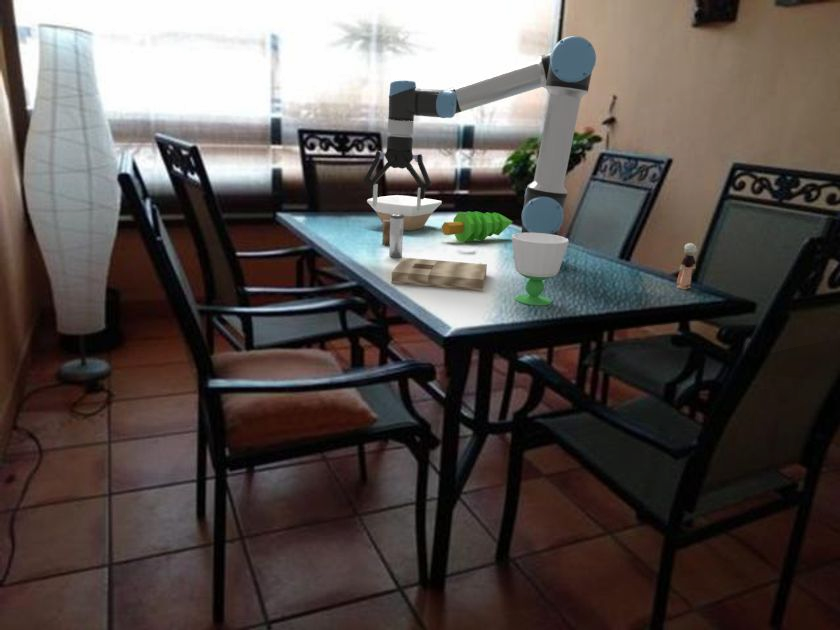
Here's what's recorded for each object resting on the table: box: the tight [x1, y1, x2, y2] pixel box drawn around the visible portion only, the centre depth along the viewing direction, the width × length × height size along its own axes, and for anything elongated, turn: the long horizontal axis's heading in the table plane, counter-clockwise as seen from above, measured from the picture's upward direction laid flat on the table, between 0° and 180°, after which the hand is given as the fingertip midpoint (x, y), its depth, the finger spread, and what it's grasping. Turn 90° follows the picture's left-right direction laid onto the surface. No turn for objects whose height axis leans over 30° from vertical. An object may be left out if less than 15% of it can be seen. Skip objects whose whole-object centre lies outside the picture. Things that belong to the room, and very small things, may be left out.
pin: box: [388, 214, 404, 259], centre depth 196 cm, size 4×4×13 cm
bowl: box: [366, 194, 443, 231], centre depth 249 cm, size 24×25×11 cm
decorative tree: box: [441, 210, 514, 243], centre depth 230 cm, size 11×12×30 cm
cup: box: [511, 232, 570, 307], centre depth 156 cm, size 14×14×16 cm
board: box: [390, 257, 488, 292], centre depth 174 cm, size 24×18×3 cm
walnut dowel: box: [382, 220, 390, 246], centre depth 215 cm, size 4×4×8 cm
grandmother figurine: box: [676, 242, 698, 290], centre depth 176 cm, size 8×4×13 cm, turn 141°
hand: (396, 208), depth 194 cm, fingers open, 13 cm apart
